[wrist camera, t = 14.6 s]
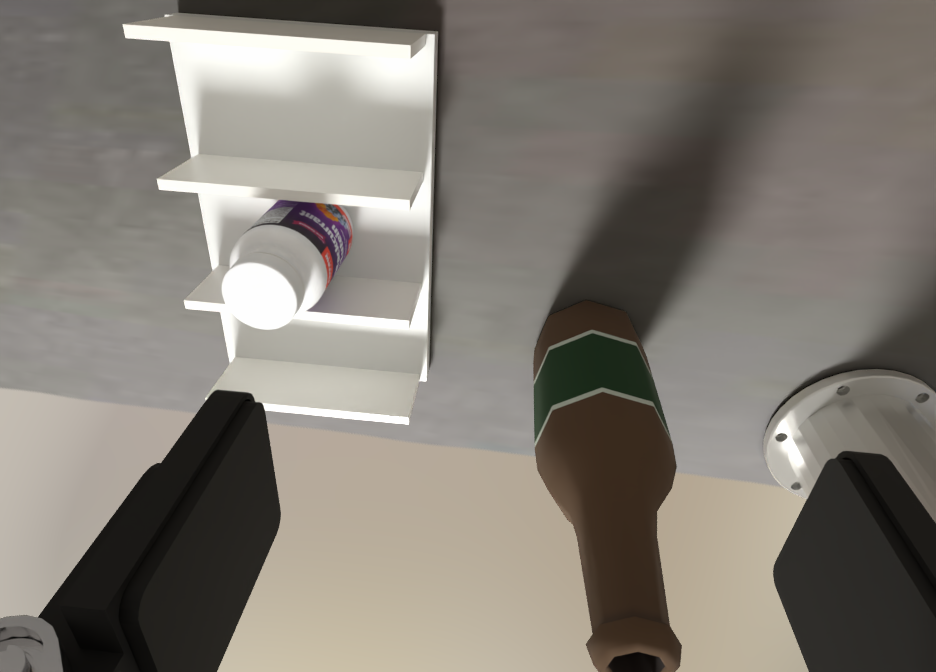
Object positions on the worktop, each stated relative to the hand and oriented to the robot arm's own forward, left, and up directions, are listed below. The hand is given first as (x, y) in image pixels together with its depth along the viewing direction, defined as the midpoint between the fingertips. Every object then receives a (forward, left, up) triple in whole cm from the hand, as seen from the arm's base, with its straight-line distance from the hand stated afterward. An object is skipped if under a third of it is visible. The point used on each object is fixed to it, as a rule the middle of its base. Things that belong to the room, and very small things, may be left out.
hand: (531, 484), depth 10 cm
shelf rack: (+13, +8, -30) cm, 34 cm away
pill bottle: (+13, +8, -29) cm, 33 cm away
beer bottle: (-6, +16, -31) cm, 35 cm away
